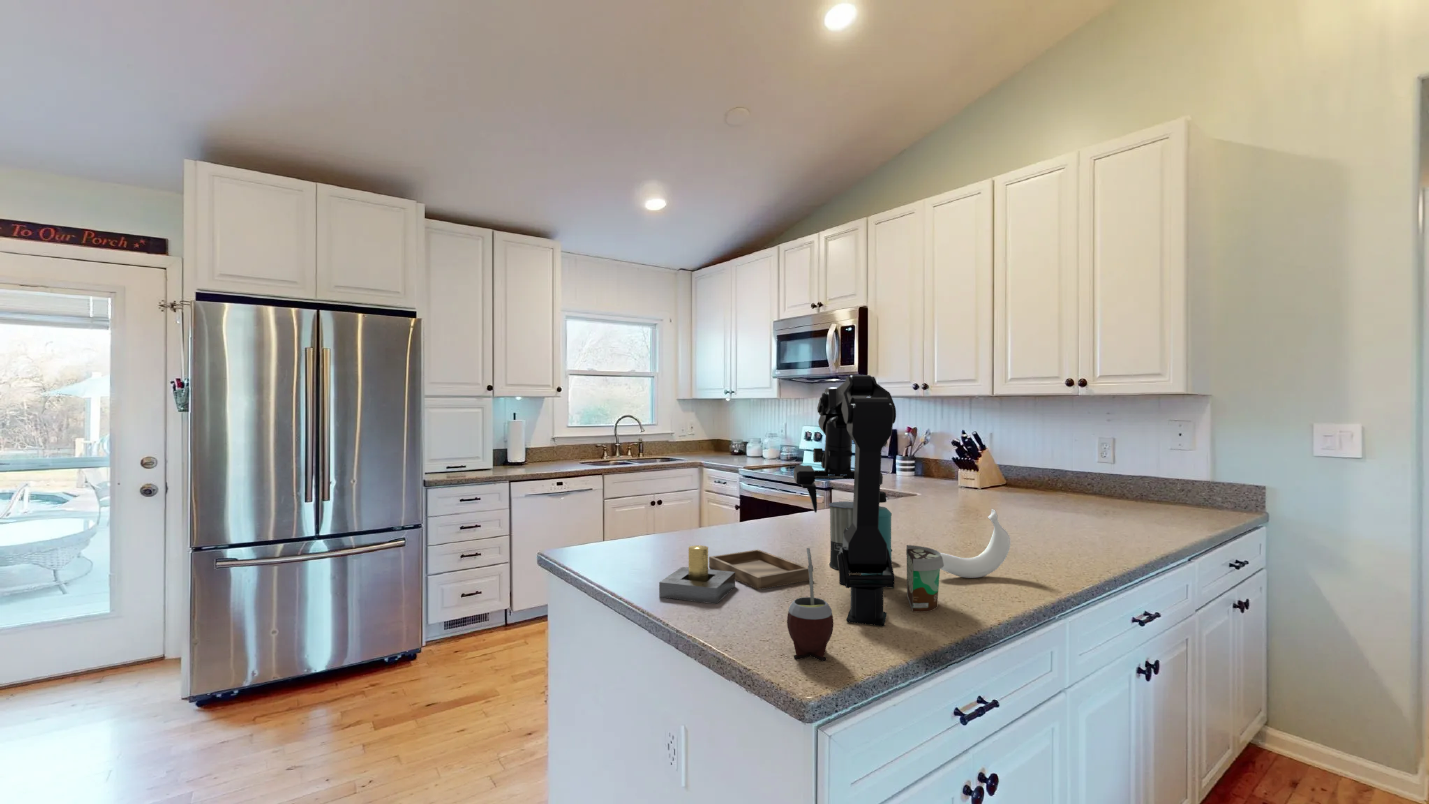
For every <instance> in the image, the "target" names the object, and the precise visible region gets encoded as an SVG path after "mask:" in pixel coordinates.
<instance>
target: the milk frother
mask: <svg viewBox="0 0 1429 804" xmlns="http://www.w3.org/2000/svg"><path fill="white" fill-rule="evenodd" d="M828 506H829V525H830V526H829V529H830V530H829V531H830V532H829V535H830V536H829V537H830V551H829V552H830V555H829V556H830V557H829V564H828V565H829V567H831V568H832V569H834V570H838V571H839V568H838V560H837V555H838V554H839V552H840V548H841V547H843V532H844V530H845V528H849V527H850V526H851V524H852V523H853V501H833V502H830V503H828ZM891 553H893V549H892V548H891Z"/></svg>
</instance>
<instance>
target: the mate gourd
mask: <svg viewBox="0 0 1429 804" xmlns="http://www.w3.org/2000/svg"><path fill="white" fill-rule="evenodd" d="M806 554H807V563H808V565H807V567H808V572H809V580H808V582H809V596H804V597H802V596H801V597H798V598H795V599H794V600H793V601H792V602H791V603H790V605H789V607H788V611H787V612H788V613H787V616H786V617H787V618H786V627H787V632H788V634H789V637H790V639H791V640H792V642H793V646H794V651H795V654H794V655H793V658H794V660H796V661H799V660H802V659H805V658H808V657H811V658H814V659H816V660H818V661H820V662H822V663H824V662H826V661H827V656H825V654H826V650H827V646H828V643H829V641H830V640H831V637H832V634H833V631H834V616H833V610H832V608H831V607H830V604H828V602H827V600H826V601H825V600H824V599H822V598H819V597H815V594H814V592H815V591H814V576H813V572H814V565H813V562H812V554H811V548H810V547H806Z"/></svg>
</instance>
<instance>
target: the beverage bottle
mask: <svg viewBox="0 0 1429 804" xmlns="http://www.w3.org/2000/svg"><path fill="white" fill-rule="evenodd" d="M887 501H888V500H887V493H886V491H881V490H880V501H879V504H881V503H887ZM878 529H879V531H880V533H881V534H882V536H883V538H884V540H885V541H886V543H887V548H888V551H889V555H890V559H891V560H892V552H891V549H892V512H891V511H890V510H889V508H887V507H886V506H880V505H879V525H878ZM860 575H883V573H860Z"/></svg>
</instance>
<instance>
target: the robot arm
mask: <svg viewBox="0 0 1429 804" xmlns="http://www.w3.org/2000/svg"><path fill="white" fill-rule="evenodd" d="M824 389H825V390H824V392H822V393H821V396H820V397H819V400H818V404H817V414H818V415H819V417H818V421H817V422H818V426H819V427H818V428H819V429H820V430H821V431H822V432H823V434H824V435H825V440H824V441H825V445H824V449H823V447H822V448H820V447H819V448H817V447H815V448H813V453H812V456H813V457H812V458H813V459H812V460H813V463H821V467H822V470H820V469H819V470H817V469H816V470H815V469H814V468H813V466H812V465H796V466H795V467H794V468H793V479H794V482H795V483H796V485H799V486H800V485H801V488H802V489H806V490H807V493H808V495H809V498H810V501H811V505H812V508H813V512H814V513H817V512H818V511H817V510H818V499H817V485H816V484H815V481H816V480H853V501H852V502H853V523H852V524H851V526H850V527H849V528H845V530H844V532H843V547H841V548H840V552H839V554H838V555H837V560H838V568H839V570H838V574H839V579H838V583H839V585H840V586H843V587H845V588H846V589H849V588H850V609H849V612H848V614H847V615H846V616H847V617H846V623H850V624H851V623H852V624H859V625H867V626H875V627H885V626H886V622H887V621H886V620H887V616H888V615H887V614H888V613H887V612H886V611H884V588H891V589H894V587H895V582H896V575H895V573H894V569H893V562H892V558H891V559H890V555H889V551H888V548H887V543H886V541H885V540H884V538H883V536H882V534H881V533H880V531H879V529H878V525H879V506H880V503H879V501H880V491H881V485H883V479H884V476H883V473H882V471H881V469H882V451H883V450H882V449H883V448H884V446H885V445H886V444H887V442H888V441H889V439H890V438H891V436H892V434H893V426H894V424H895V422H896V419H897V408H896V405H895V403H894V399H893V397H892V394H891V393H890V391H888V390H887V389H885V387H882V386H881V385H880V384H878V382H877V380H876V378H875V376H871V374H864V375H863V374H859V375H858V374H857V375H856V374H851V375H849V376H846V377H845V381H844V382H843V383H842V384H840V385H839V386H838V387H826V388H824ZM853 443H854V445H855V446H854V447H855V448H854V469H853V470H852V457H853V450H852V449H853ZM861 573H883V575H861Z"/></svg>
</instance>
